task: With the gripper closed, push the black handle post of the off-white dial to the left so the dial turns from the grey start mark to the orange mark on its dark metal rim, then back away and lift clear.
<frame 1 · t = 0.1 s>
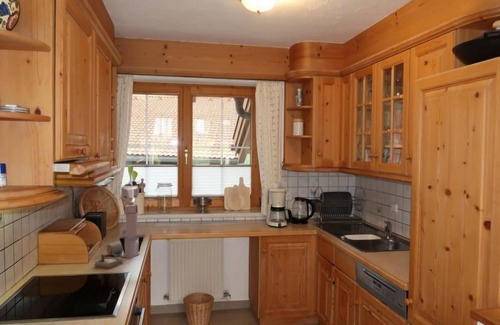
hand: (131, 252, 205), 11 cm above the table, tool pointing down, fingers open, 7 cm apart
dial plate: (108, 265, 215), on the table
dial: (108, 258, 215), point 4 cm above the table, hinge at -30.0°
ceramic mug: (116, 255, 237), on the table
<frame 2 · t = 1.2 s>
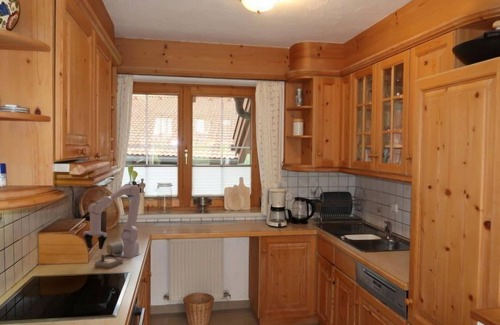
hand: (95, 248, 216), 9 cm above the table, tool pointing down, fingers open, 7 cm apart
nothing on the table moved.
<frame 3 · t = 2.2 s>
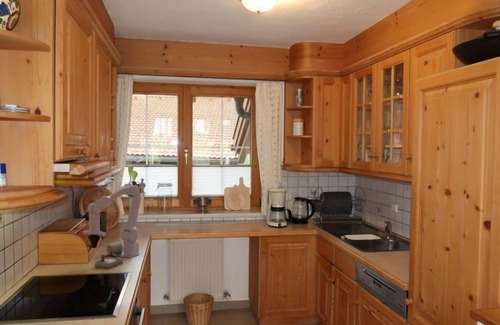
hand: (94, 247, 217), 9 cm above the table, tool pointing down, fingers closed
nothing on the table moved.
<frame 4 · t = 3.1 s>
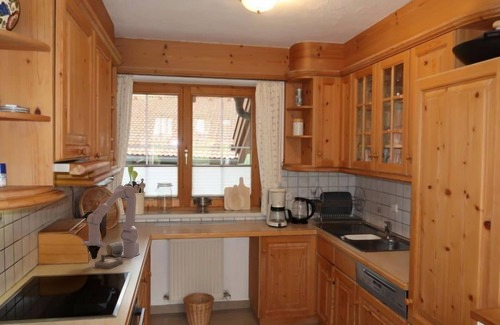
hand: (94, 258, 215), 4 cm above the table, tool pointing down, fingers closed
nothing on the table moved.
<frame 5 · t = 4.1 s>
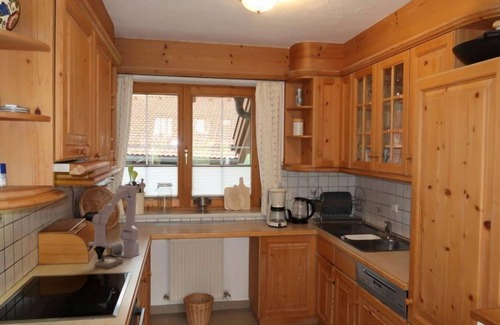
hand: (100, 259, 214), 4 cm above the table, tool pointing down, fingers closed, pressing on dial
dial: (108, 258, 215), point 4 cm above the table, hinge at -29.8°, touching gripper
everything else where it was.
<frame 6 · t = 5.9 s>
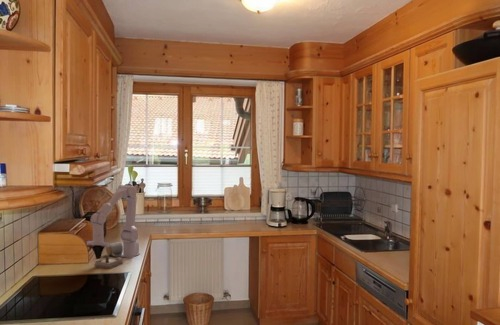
hand: (98, 258, 214), 4 cm above the table, tool pointing down, fingers closed
dial: (108, 258, 215), point 4 cm above the table, hinge at 26.7°
everything else where it was.
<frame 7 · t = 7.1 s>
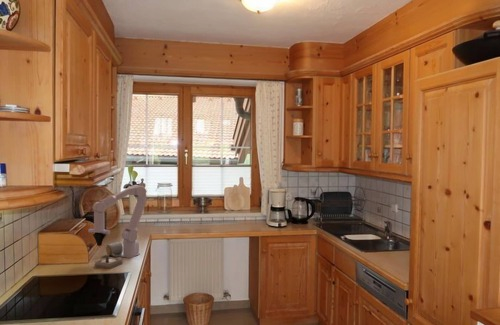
hand: (99, 245, 222), 9 cm above the table, tool pointing down, fingers closed
dial: (108, 258, 215), point 4 cm above the table, hinge at 27.1°
everything else where it was.
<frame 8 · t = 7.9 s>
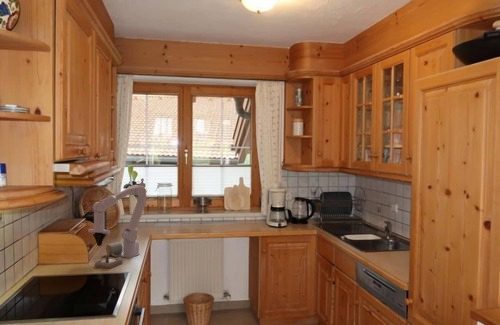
hand: (99, 245, 222), 9 cm above the table, tool pointing down, fingers closed
nothing on the table moved.
at the end: dial at +27° (first picture: -30°); ceramic mug moved 1.3 cm from its start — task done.
